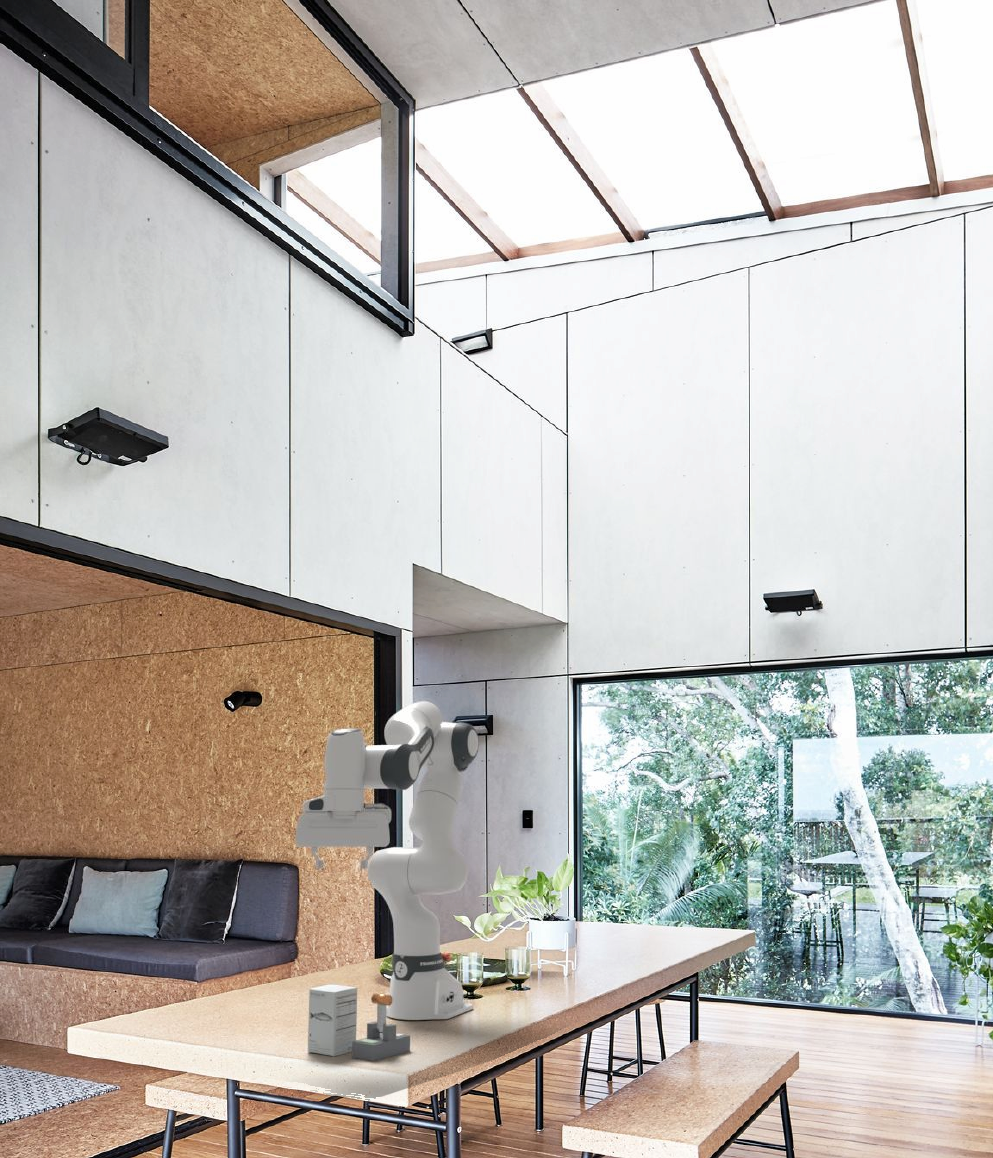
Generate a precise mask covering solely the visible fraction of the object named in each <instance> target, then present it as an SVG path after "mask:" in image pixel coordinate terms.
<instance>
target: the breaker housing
mask: <svg viewBox="0 0 993 1158" xmlns="http://www.w3.org/2000/svg"><path fill="white" fill-rule="evenodd" d="M376 1028H377V1021H371V1022H367V1023H366V1037H364V1038H361V1039H356V1041H352V1051H351V1058H355V1059H359V1060H360V1059H361V1060H365V1061H372V1062H376V1061H380V1060H383V1059H387V1058H389V1057H395V1056H397V1055H400V1054H401V1055H402V1054H404V1053H407V1052H410V1051H411V1035H409V1034H402V1033H397V1024H396V1023H395V1024H393V1023H389V1024H386V1025H385V1026H383V1034H382V1033H377V1032H376Z"/></svg>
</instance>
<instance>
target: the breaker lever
mask: <svg viewBox="0 0 993 1158" xmlns="http://www.w3.org/2000/svg"><path fill="white" fill-rule="evenodd" d="M370 999H371V1000H370V1001H371V1003H372V1004H374V1005H376V1011H377V1013H376V1018H377V1019H376V1022H377V1028H376V1032H377V1033H380V1034H383V1026H385V1025H387V1015H386V1014H387V1012H386V1006H390V1005H391V1004H392V996H391V995H389V994H383V993H373V994H372V996H371V997H370Z"/></svg>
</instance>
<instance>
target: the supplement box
mask: <svg viewBox="0 0 993 1158" xmlns="http://www.w3.org/2000/svg"><path fill="white" fill-rule="evenodd" d="M308 992H309V993H308V1002H309V1003H308V1025H307V1027H308V1028H307V1029H308V1031H307V1033H308V1034H307V1053H313V1054H320V1055H324V1056H325V1055H326V1056H331V1057H338V1056H340V1055H344V1054H348V1053H352V1041H356V1040H357V1023H358V1022H357V1020H358V1017H357V1014H358V987H355V986H346V985H342V984H341V985H340V984H324V985H322V986H316V987H313V988H309V991H308Z"/></svg>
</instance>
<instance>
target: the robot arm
mask: <svg viewBox="0 0 993 1158" xmlns="http://www.w3.org/2000/svg"><path fill="white" fill-rule="evenodd" d="M383 733H384V740H385V743H386V744H380V745H379V744H377V745H374V744H373V745H369V744H368V743H366V741H365V737H364V732H363V730H362V729H360V728H357V727H356V728H354V727H351V728H349V727H348V728H339V729H333V730H332V731H331V732H329V734H328V737H327V740H326V745H325V751H324V763H323V764H324V765H323V766H324V768H323V769H324V774H325V782H324V784H323V793H322V796H321V795H320V796H315V797H314V798H311V799H307V800H305V801H303V803H302V805H301V806H302V810H303V812H302V813H301V814H300V816H299V818H298V821H297V826H296V830H295V840H294V844H295V846H297V847H298V848H308V847H309V848H311V852H310V853H311V854H312V856H313V858H314V860H315V869H316V870H323V869H324V865H323V864H324V860H323V859H321V860H320V859H319V856H318V855H317V853H319V848H323V847H324V848H325V847H327V848H330V847H331V848H334V847H335V848H338V847H339V848H346V847H347V848H349V847H350V848H353V847H354V848H360V847H361V848H364V847H365V852H366V853H367V855H366V856H365V858H364V859H361V860H360V865H359V867H360V868H359V869H361V870H367V876H368V880H369V882H370V885H371V886H372V887H373V888H374V889H375V890H376V891H378V893H379V894H380V895H381V896H382V897H383V899H384V901H385V902H386V904H387V906H388V909H389V912H390V915H391V918H392V923H393V953H392V957H391V969H392V970H393V973H392V975H391V977H390V983H389V984H390V985H389V993H388V995H391V996H392V1004H391V1005H390V1006H387V1005H386V1017H388V1018H391V1019H396V1020H403V1021H405V1020H406V1021H422V1020H423V1021H424V1020H448V1019H452V1018H453V1017H456V1016H458V1015H461V1014H464V1013H466V1012H469V1011H471V1010H473V1009H474V1005H473V1004H472V1003H469V1002H466V1001H464V991H463V986H462V983H461V982H460V981H459V980H458V979H457V978H456V977H455V976H454V975H452V974H451V973H450V972H449V971H448V970H447V969H446V964H445V962H447V963H450V962H451V960H452V954H451V953H450V952H446V953H445V952H441V923H440V921H439V918H438V916H437V915H436V914H435V913H434V912H433V911H431V910H430V909H428V908H427V907H425V904H423V902H422V900H421V897H420V894H421V895H445V894H446V895H447V894H451V893H455V892H459V891H461V889H462V888H463V887H464V886H465V884H466V883H467V879H468V876H469V865H468V861H467V860H466V857H465V855H464V854H463V853H462V852H461V851H459V850H458V848H457V847H456V845H455V843H454V839H453V828H454V823H455V820H456V819H455V818H456V815H457V811H458V807H459V802H460V798H461V791H462V775H461V773H462V772H464V771H466V770H467V769H468V767H469V765H471V764H472V763H473V761H475V758H476V757H477V755H478V751H479V745H480V744H479V743H480V742H479V741H480V740H479V735H478V732H477V730H476V729H475V727H474V726H473V725H472V724H469V723H467V722H463V721H462V722H460V721H459V722H449V721H443V716H442V712H441V710H440V709H439V707H438V706H437V705H436V704H434V703H432V702H429V701H428V700H427V701H425V700H420V701H417V702H414V703H411V704H408V705H407V706H405V707H403V708H402V709H400V710H398V711H397V712H396V713H394V714H393V715H392V716H391V717H390V718H389V719H388V721H387V722H386V724H385V727H384V732H383ZM423 766H426V767H427V768H426V772H425V773H424V775H423V777H422V778H421V781H420V783H419V786H418V789H417V791H416V794H415V798H414V802H413V805H412V808H411V811H410V815H409V817H408V826H409V829H410V831H411V833H412V834H413V835H414V836H415V837H416V838H417V839H418V840H420V841H422V843H421V845H420V846H417V847H413V846H412V847H411V846H409V847H403V846H402V847H401V846H393V847H389V848H386V847H387V846H388V845H389V844H390V842H391V841H390V838H391V837H390V827H389V824H390V823H391V821H392V809H391V808H390V807H389V806H388V805H386V804H385V803H381V802H380V803H370V802H369V803H368V802H366V803H365V789H369V790H370V789H373V790H374V789H382V790H383V789H385V790H387V789H389V790H390V789H391V790H400V791H406V790H408V789H410V787H412V785H414V784H415V782H416V781H417V779H418V777H419V774H420V771H421V769H422V768H423ZM376 847H377V848H379V847H380V848H382V849H380V850H379V849H378V850H376V851H375V852H374V848H376ZM383 848H384V849H383Z"/></svg>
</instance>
